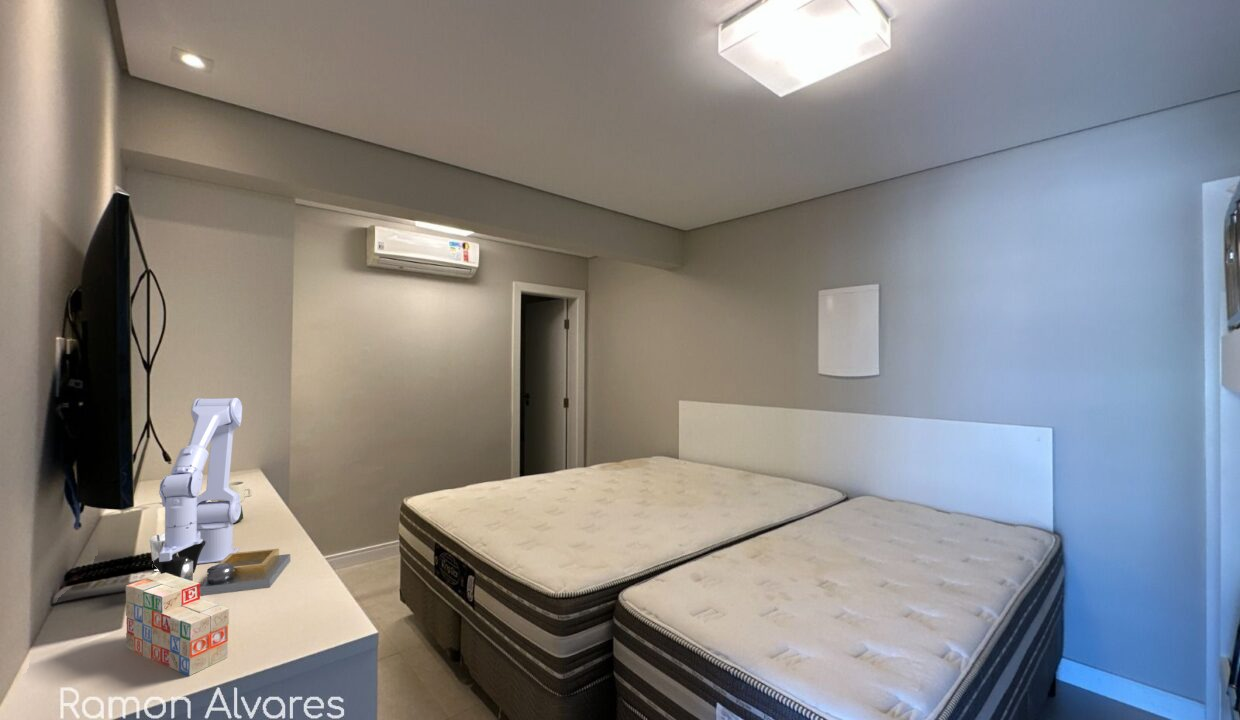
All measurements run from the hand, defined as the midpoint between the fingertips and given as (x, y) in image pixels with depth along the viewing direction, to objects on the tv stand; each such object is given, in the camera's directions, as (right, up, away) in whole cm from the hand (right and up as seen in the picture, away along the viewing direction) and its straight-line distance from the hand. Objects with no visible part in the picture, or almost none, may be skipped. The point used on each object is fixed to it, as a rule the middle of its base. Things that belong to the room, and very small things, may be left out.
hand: (180, 580), depth 119 cm
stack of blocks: (+22, -3, -26) cm, 34 cm away
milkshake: (-14, -2, +10) cm, 17 cm away
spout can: (0, -2, 0) cm, 2 cm away
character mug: (-24, -2, +47) cm, 53 cm away
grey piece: (+12, -2, +6) cm, 13 cm away
